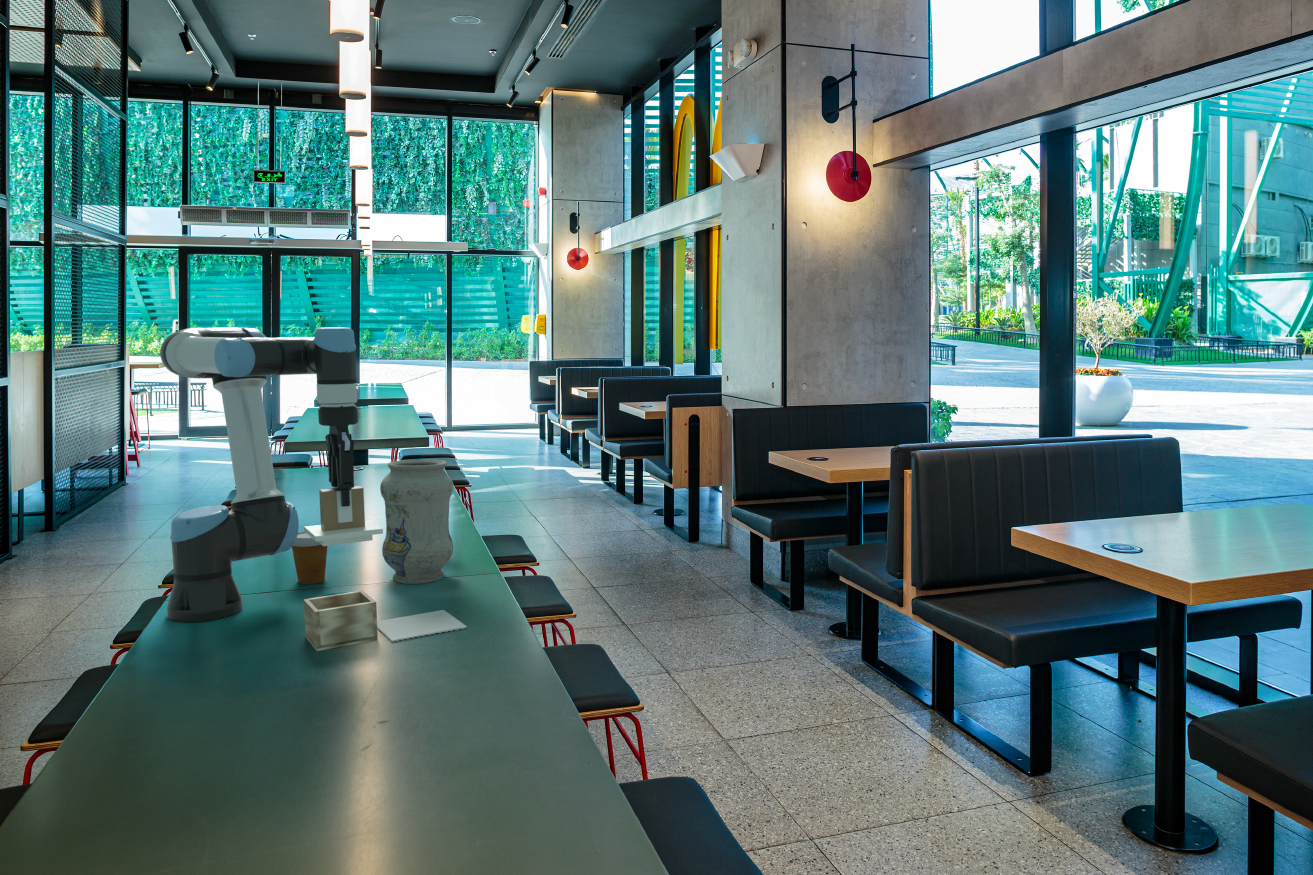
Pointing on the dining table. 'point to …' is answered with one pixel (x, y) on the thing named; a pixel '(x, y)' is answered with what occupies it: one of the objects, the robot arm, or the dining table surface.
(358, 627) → the crate
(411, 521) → the vase
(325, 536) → the lid
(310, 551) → the disposable coffee cup
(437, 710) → the dining table surface
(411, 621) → the tray
